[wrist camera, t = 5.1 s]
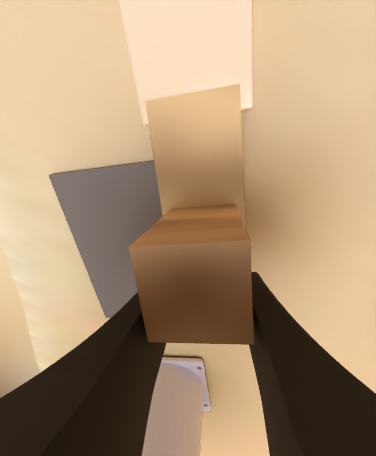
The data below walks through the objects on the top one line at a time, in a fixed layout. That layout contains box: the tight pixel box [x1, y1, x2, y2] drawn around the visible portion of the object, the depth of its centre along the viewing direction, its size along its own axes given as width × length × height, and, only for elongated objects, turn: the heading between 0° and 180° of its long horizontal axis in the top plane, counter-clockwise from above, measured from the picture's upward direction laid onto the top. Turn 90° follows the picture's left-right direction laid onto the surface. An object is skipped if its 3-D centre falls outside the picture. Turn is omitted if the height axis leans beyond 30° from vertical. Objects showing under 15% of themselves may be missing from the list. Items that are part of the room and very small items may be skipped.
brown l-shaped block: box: [129, 84, 254, 345], centre depth 9 cm, size 9×4×7 cm, turn 8°
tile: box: [119, 0, 253, 125], centre depth 11 cm, size 2×6×7 cm
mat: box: [49, 161, 163, 318], centre depth 17 cm, size 14×9×1 cm, turn 8°
